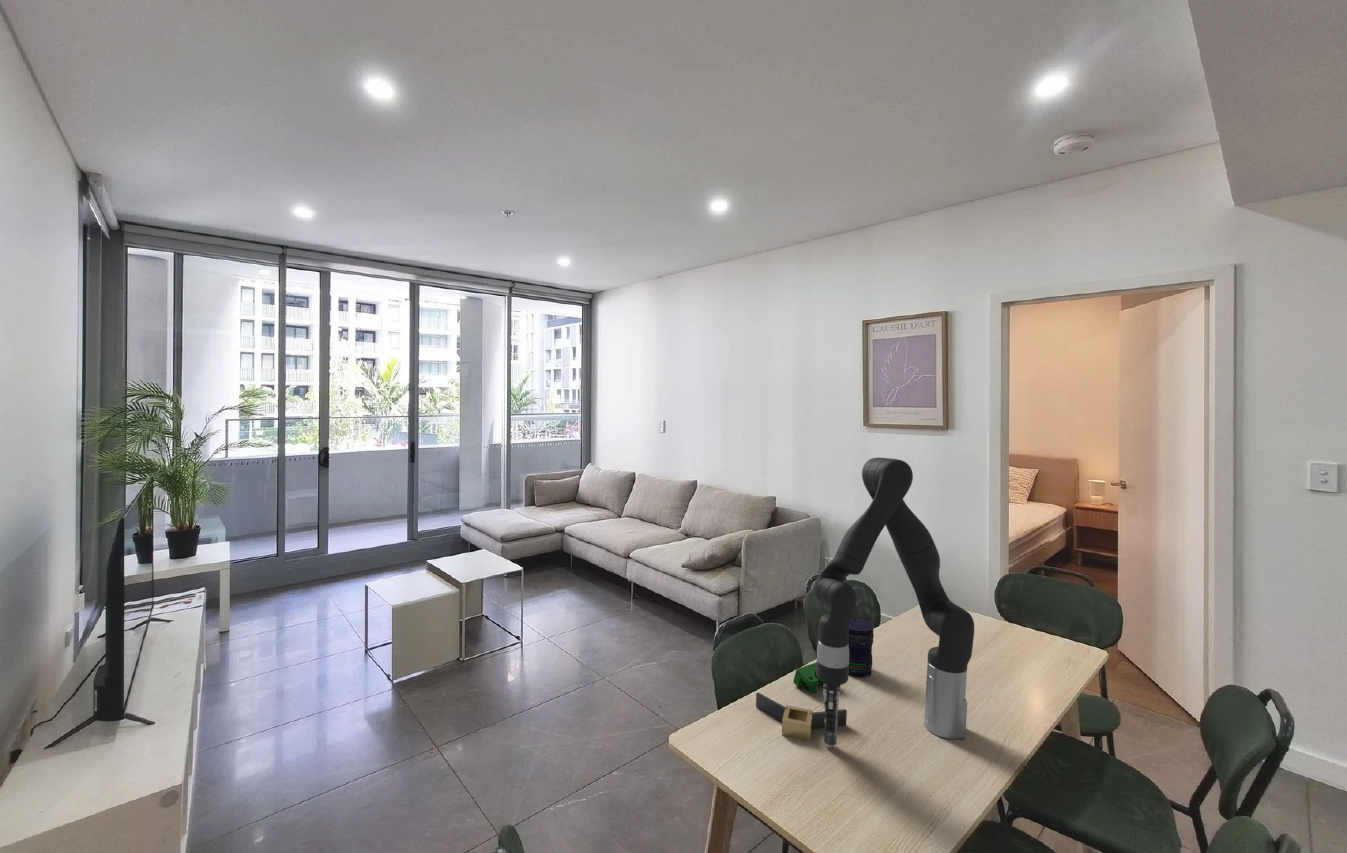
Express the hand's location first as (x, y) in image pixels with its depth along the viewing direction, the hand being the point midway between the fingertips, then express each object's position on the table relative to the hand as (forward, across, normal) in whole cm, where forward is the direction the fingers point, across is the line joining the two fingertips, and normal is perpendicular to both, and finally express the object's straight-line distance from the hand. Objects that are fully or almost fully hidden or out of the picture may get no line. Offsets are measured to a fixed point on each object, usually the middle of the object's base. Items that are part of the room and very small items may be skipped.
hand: (830, 727), depth 135 cm
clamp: (+5, +27, +6) cm, 28 cm away
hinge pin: (+4, 0, 0) cm, 4 cm away
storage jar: (+5, +42, -6) cm, 43 cm away
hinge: (+5, +6, +8) cm, 11 cm away
